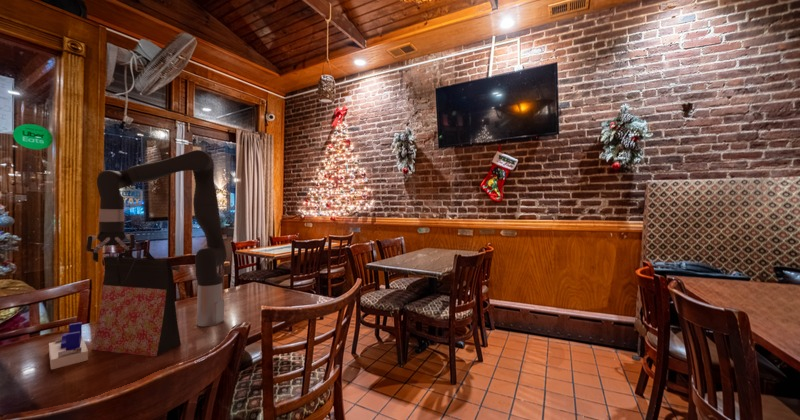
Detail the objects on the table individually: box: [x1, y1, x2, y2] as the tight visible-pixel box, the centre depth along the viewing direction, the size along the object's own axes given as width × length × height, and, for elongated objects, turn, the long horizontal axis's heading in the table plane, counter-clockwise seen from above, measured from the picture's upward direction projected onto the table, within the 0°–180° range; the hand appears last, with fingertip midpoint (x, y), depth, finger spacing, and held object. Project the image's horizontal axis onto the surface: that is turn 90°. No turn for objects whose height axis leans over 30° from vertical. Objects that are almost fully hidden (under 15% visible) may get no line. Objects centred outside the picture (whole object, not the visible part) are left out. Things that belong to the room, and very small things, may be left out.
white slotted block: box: [48, 335, 89, 370], centre depth 103 cm, size 8×17×4 cm, turn 50°
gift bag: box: [91, 251, 182, 357], centre depth 110 cm, size 29×14×35 cm, turn 82°
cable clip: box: [61, 321, 83, 351], centre depth 104 cm, size 12×4×6 cm, turn 43°
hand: (111, 260), depth 125 cm, fingers open, 8 cm apart
